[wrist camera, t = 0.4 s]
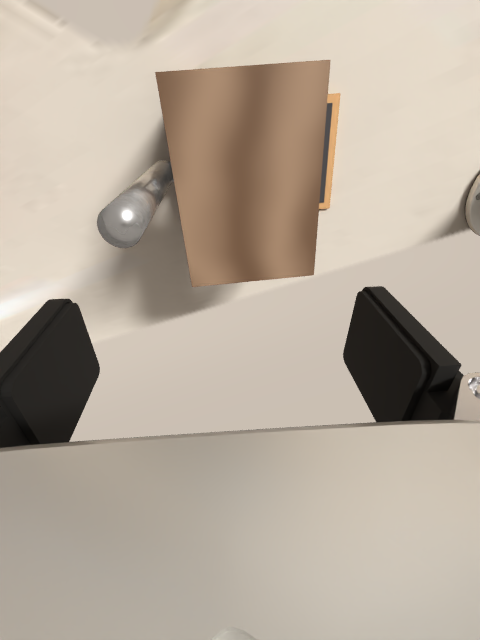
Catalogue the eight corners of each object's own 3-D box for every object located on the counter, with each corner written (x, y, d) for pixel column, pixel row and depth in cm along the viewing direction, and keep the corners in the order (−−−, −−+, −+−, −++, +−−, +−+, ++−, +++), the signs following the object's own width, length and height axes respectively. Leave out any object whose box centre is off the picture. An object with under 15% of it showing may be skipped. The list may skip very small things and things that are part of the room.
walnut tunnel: (278, 84, 32) (330, 59, 19) (277, 221, 40) (313, 275, 27) (177, 91, 32) (155, 72, 18) (197, 228, 40) (192, 287, 26)
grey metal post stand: (278, 108, 32) (363, 97, 15) (278, 207, 38) (338, 285, 20) (142, 118, 32) (62, 120, 14) (162, 218, 37) (123, 306, 20)
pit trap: (339, 93, 33) (340, 93, 33) (328, 207, 40) (329, 208, 39) (284, 97, 33) (285, 97, 32) (283, 211, 40) (283, 212, 39)
